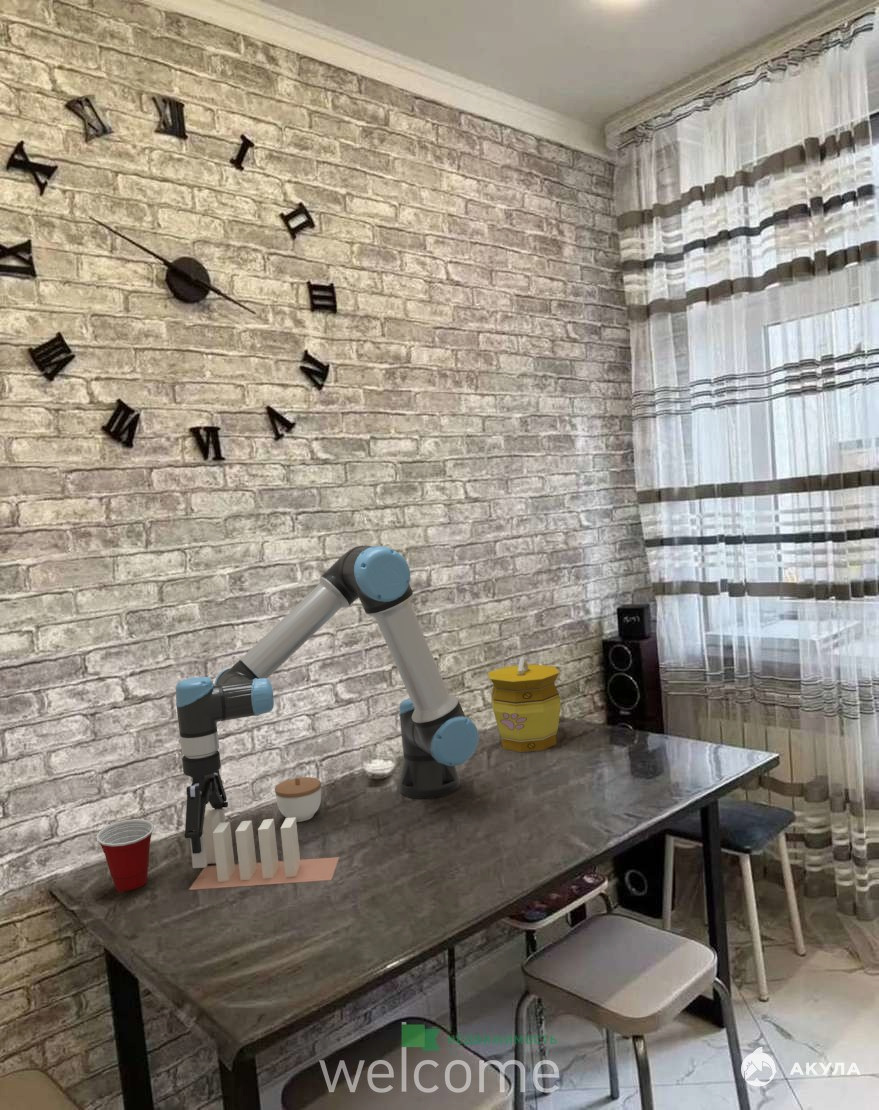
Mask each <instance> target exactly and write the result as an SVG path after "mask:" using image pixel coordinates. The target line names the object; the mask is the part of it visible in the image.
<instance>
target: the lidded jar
mask: <svg viewBox="0 0 879 1110" xmlns="http://www.w3.org/2000/svg"><path fill="white" fill-rule="evenodd" d="M321 787H322V782H321V781H320V779H319V778H316V777H309V776H308V777H307V776H306V777H305V776H303V777H302V776H301V777H295V778H290V779H287V780H283V781H282V782H279V783H278V784H277V785H275V786H274V792H275V793H274V794H275V799H276V804H277V807H278V809H279V812H280V813H281V815H283V817H285V819H286V818H293V817H296V823H301V822H304V821H308V820H310V819H313V818H314V816H315V814H316V813H317V812H318V810H319V808H320V806H321V801H322V788H321Z"/></svg>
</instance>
